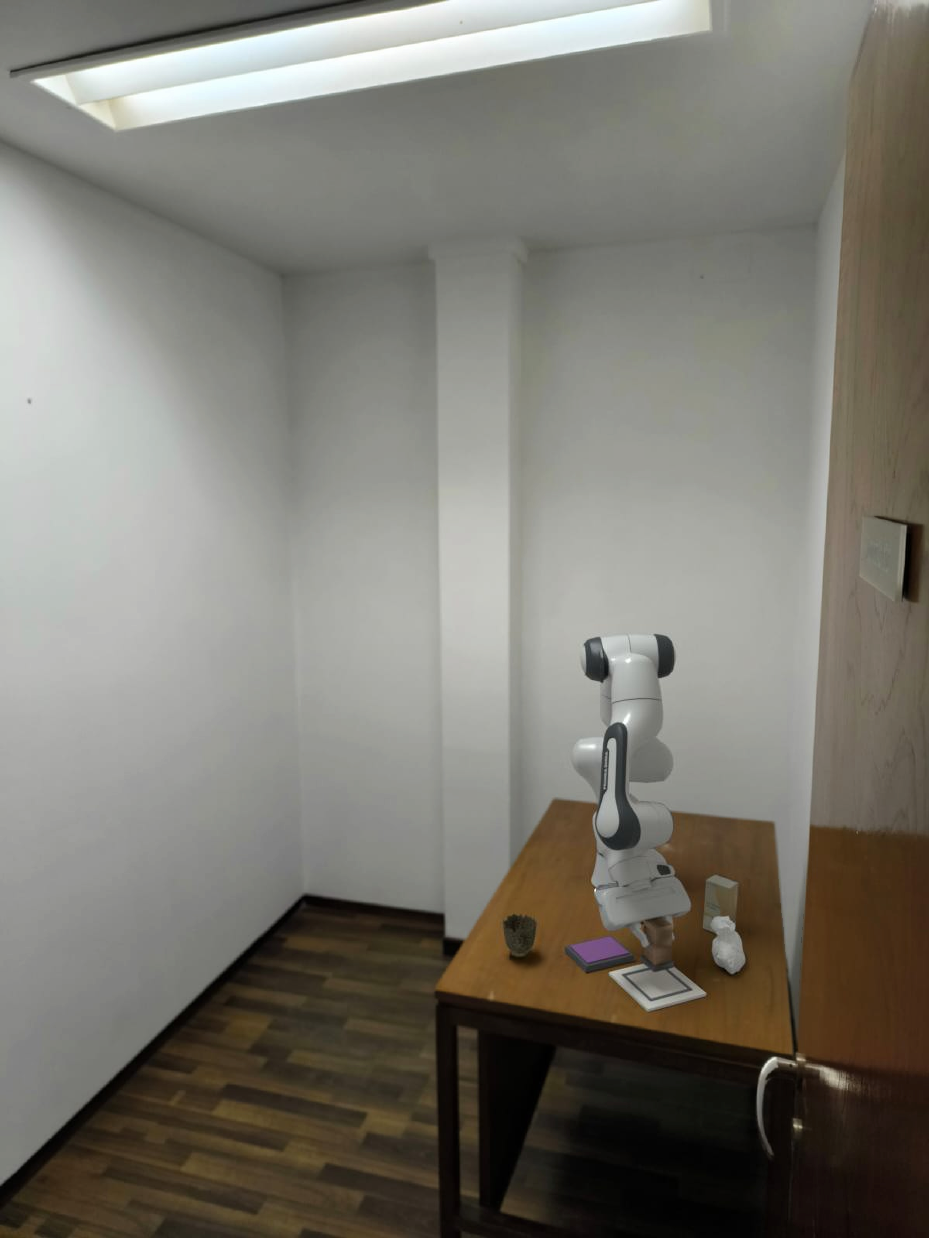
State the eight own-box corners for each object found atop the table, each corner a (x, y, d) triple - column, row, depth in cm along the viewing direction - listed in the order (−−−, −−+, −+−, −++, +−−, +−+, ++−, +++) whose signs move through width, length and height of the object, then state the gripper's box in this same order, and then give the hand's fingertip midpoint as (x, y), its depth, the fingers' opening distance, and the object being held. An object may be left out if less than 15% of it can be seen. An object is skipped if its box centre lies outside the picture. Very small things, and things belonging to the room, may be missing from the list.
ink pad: (611, 941, 184) (611, 934, 184) (633, 960, 176) (634, 953, 176) (564, 951, 180) (565, 944, 179) (586, 972, 171) (586, 965, 171)
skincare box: (702, 928, 190) (704, 879, 188) (711, 922, 193) (713, 873, 191) (727, 938, 185) (729, 888, 184) (736, 932, 188) (739, 882, 187)
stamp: (659, 955, 169) (660, 914, 168) (673, 967, 165) (675, 925, 164) (640, 960, 167) (641, 919, 166) (654, 972, 163) (655, 929, 162)
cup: (515, 943, 183) (516, 909, 182) (542, 954, 179) (543, 919, 178) (495, 956, 178) (496, 922, 177) (523, 968, 173) (523, 933, 172)
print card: (663, 960, 176) (664, 957, 176) (706, 995, 163) (706, 992, 163) (608, 974, 171) (608, 971, 171) (648, 1011, 158) (648, 1008, 158)
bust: (731, 959, 181) (701, 914, 183) (760, 946, 177) (729, 901, 179) (720, 987, 170) (689, 939, 172) (751, 973, 167) (719, 925, 169)
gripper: (597, 880, 167) (622, 948, 159) (678, 864, 174) (707, 928, 167) (585, 891, 171) (609, 958, 163) (665, 876, 179) (692, 939, 171)
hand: (659, 943), depth 165 cm, fingers closed on stamp, 4 cm apart
